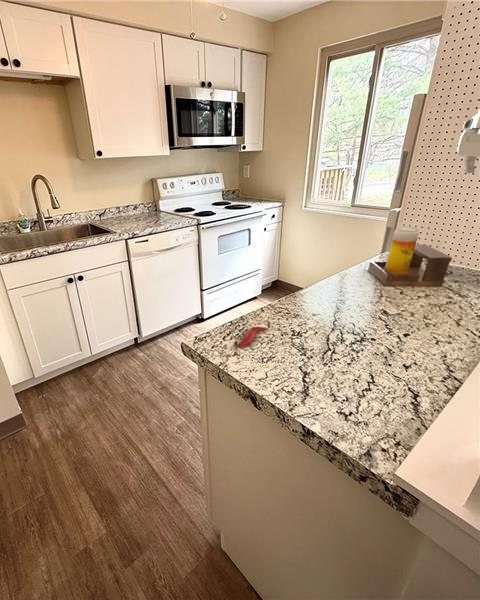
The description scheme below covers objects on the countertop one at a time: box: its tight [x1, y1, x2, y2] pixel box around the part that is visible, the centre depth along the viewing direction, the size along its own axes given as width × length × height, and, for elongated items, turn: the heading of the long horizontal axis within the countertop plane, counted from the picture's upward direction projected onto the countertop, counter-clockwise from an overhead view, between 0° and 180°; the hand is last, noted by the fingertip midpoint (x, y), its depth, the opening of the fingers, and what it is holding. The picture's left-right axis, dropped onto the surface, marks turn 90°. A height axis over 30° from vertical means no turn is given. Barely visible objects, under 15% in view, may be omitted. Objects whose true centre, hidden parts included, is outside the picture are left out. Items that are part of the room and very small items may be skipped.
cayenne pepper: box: [235, 326, 267, 348], centre depth 79 cm, size 12×5×2 cm, turn 120°
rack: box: [367, 244, 453, 287], centre depth 101 cm, size 15×14×9 cm
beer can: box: [385, 226, 420, 275], centre depth 100 cm, size 6×6×15 cm
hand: (479, 174), depth 89 cm, fingers open, 8 cm apart
